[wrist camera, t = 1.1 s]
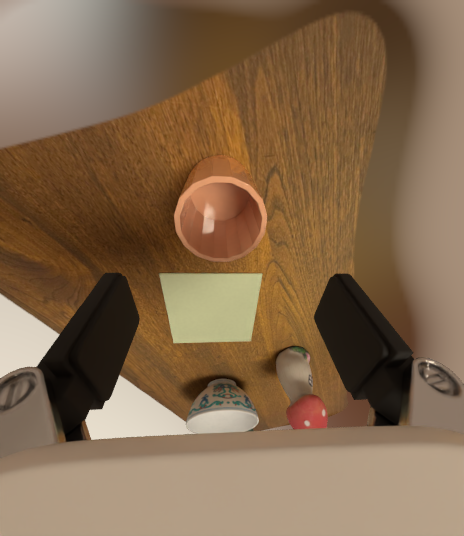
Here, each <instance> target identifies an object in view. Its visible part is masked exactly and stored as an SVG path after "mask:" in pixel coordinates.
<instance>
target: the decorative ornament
mask: <svg viewBox="0 0 464 536" xmlns="http://www.w3.org/2000/svg"><path fill="white" fill-rule="evenodd" d="M309 361H310V356H309V353H308V352H307V351H306V350H305V349H304V348H303V347H296V346H294V347H289V348H288V349H286V350H284V351H283V352H281V353H279V355H278V357H277V359H276V369H277V375H278V378H279V381H280V383H281V385H282V387H283V389H284V390H285V392H286V394H287V395H288V397H289V399H290V401H291V404H290V406H289V407H288V408H287V411H286V414H287V419H288V421H289V423H290V424H291V426H292V427H293V429H314V428H327V410H326V407H325V404H324V403H323V402H322V400H321V399H320V398H319V397H318V396H316V395H313V394H312V386H313V380H312V373H311V369H310V366H309Z"/></svg>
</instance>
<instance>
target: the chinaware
mask: <svg viewBox="0 0 464 536" xmlns="http://www.w3.org/2000/svg"><path fill="white" fill-rule="evenodd" d="M258 422H259V419H258V415H257V412H256V409H255V407H254V405H253V403H252V401H251V399H250V398H249V396H248V395H247V394H246V393H245V392H244V391H243V390H242V389H240V388H239V387H237V386H236V383H235V382H234V381H232V380H230V379H217V380H214V381H211V382H210V383H209V384H208V388H206V389H205V390H203V391H202V392H201V393H200V394H199V395H198V397H197V398H196V399H195V401H194V403H193V404H192V406H191V409H190V411H189V414H188V417H187V421H186V427H187V429H188V430H190V431H191V432H194V433H197V434H204V433H225V432H245V431H248V430H250V429H252V428H254V427H255V426H256V425H257V424H258Z"/></svg>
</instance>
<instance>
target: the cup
mask: <svg viewBox="0 0 464 536" xmlns="http://www.w3.org/2000/svg"><path fill="white" fill-rule="evenodd" d="M174 220H175V228H176V233H177V234H178V236H179V238H180V240H181V241H182V243H183V245H184V246H185V247H186V248H187V249H188V250H190V251H191V252H192V253H194V254H195V255H196V256H198V257H200V258H203V259H206V260H209V261H213V262H228V261H232V260H235V259H239V258H242V257H244V256H245V255H247V254H248V253H249V252H251V251H252V250H253V249H255V248H256V247H257V245H258V244H259V242H260V240H261V239H262V237H263V236H264V234H265V229H266V223H267V214H266V210H265V206H264V202H263V200H262V198H261V196H260V194H259V192H258V190H257V188H256V186H255V184H254V182H253V180H252V178H251V176H250V174H249V173H248V171H247V170H246V169H245V167H244V166H243V165H242V164H241V163H240V162H238V161H237V160H235V159H234V158H231V157H229V156H224V155H214V156H210V157H207V158H205V159H203V160H201V161H200V162H199V163H198V164H197V165H196V166H195V167H194V168H193V169H192V171H191V172H190V174H189V176H188V179H187V181H186V183H185V186H184V188H183V191H182V193H181V195H180V198H179V200H178V204H177V207H176V210H175V213H174Z"/></svg>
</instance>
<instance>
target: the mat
mask: <svg viewBox="0 0 464 536" xmlns="http://www.w3.org/2000/svg"><path fill="white" fill-rule="evenodd" d="M159 276H160V281H161V285H162V290H163V295H164V299H165V304H166V309H167V313H168V318H169V323H170V328H171V332H172V337H173V342H174V343H193V342H234V341H251V336H252V331H253V325H254V319H255V314H256V308H257V302H258V296H259V291H260V285H261V279H262V273H159Z"/></svg>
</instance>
